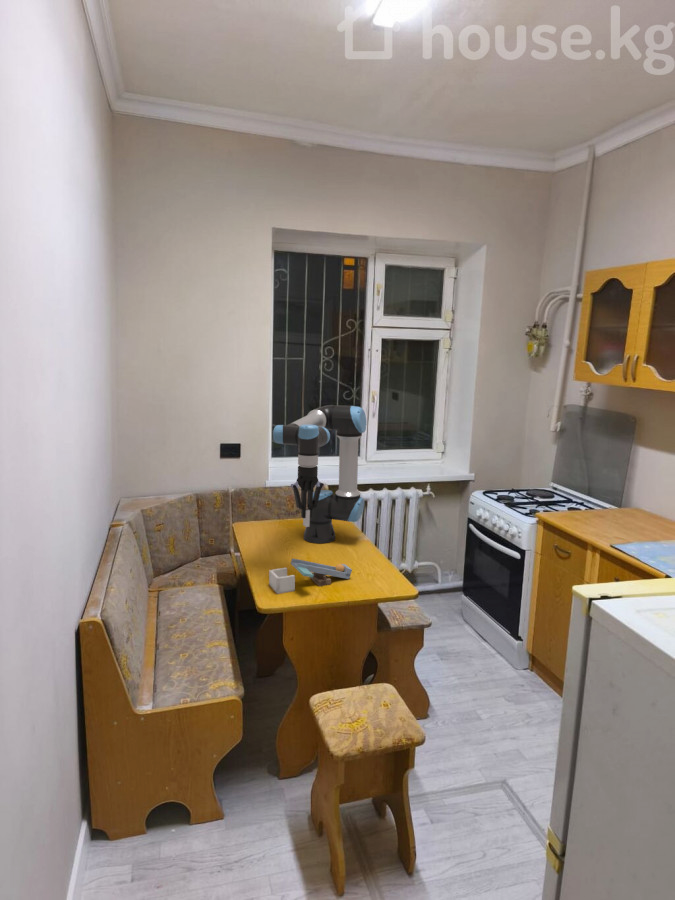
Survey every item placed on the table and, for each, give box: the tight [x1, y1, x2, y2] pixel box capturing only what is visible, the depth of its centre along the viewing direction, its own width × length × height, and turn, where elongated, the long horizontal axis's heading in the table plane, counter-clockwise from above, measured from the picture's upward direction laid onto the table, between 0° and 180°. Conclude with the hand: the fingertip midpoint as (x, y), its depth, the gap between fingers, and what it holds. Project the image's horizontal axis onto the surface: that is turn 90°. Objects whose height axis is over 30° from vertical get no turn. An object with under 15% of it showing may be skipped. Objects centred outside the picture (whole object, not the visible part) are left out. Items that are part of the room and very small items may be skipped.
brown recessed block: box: [309, 572, 332, 587], centre depth 229 cm, size 5×9×4 cm, turn 26°
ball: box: [335, 563, 344, 572], centre depth 232 cm, size 4×4×4 cm
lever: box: [290, 558, 353, 580], centre depth 225 cm, size 24×13×4 cm, turn 117°
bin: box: [268, 567, 296, 595], centre depth 222 cm, size 7×9×6 cm
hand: (306, 525), depth 224 cm, fingers closed
